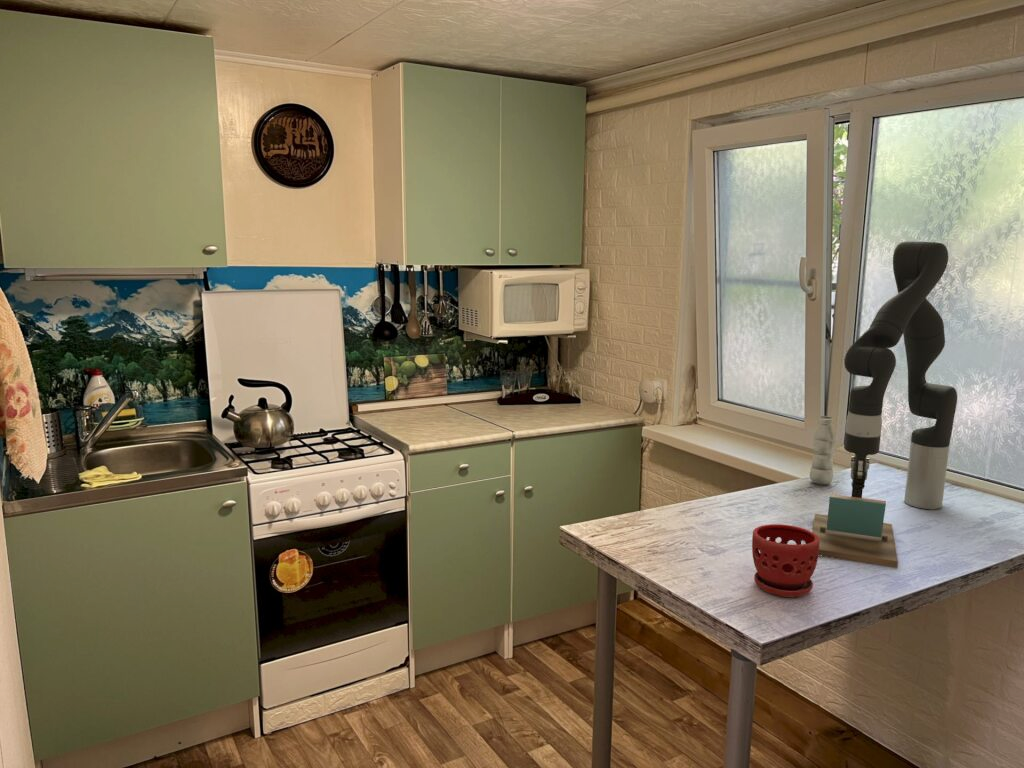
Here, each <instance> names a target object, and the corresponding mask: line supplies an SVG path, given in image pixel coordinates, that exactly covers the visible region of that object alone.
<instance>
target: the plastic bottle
mask: <svg viewBox="0 0 1024 768" xmlns="http://www.w3.org/2000/svg"><path fill="white" fill-rule="evenodd" d="M818 423H819V425H818V426H817V428H815V430H814V432H813V433H812V434H813V435H812V436H813V437H812V438H813V457H812V463H811V468H810V470H809V479H810V481H811V482H812V483H814V484H817V485H825V486H827V485H830V484H831V483H832V482H833V480H834V479H833V478H834V468H833V467H834V465H833V464H834V463H833V461H834V459H833V458H834V450H835V446H836V441H837V438H838V437H837V432H836V430H835V429H834V427H833V425H834V417H832V416H828V415H821V416H819V421H818Z"/></svg>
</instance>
